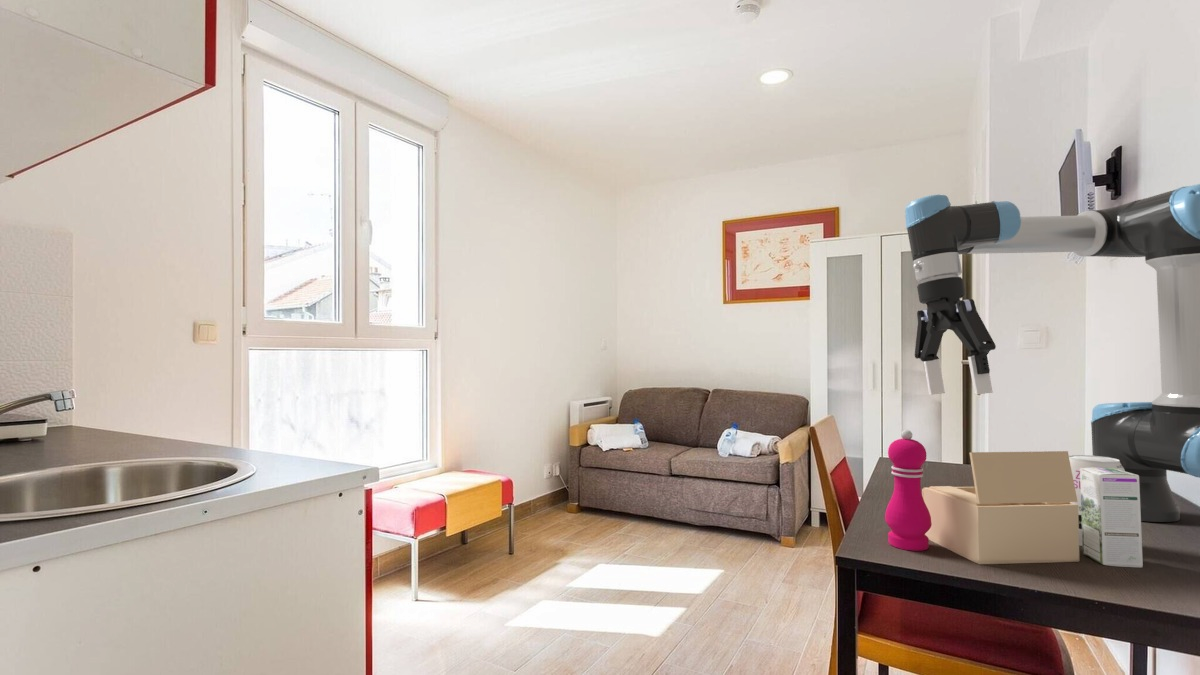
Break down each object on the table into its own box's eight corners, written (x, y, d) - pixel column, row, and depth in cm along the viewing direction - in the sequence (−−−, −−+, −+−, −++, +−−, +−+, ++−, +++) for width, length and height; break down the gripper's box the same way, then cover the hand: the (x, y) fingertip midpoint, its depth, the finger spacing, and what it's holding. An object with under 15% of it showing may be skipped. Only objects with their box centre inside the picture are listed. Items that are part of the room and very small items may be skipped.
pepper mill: (878, 538, 108) (876, 427, 109) (918, 539, 108) (917, 427, 108) (896, 551, 101) (895, 432, 101) (940, 552, 101) (938, 432, 101)
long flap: (1075, 501, 97) (1065, 451, 99) (1077, 501, 96) (1067, 451, 98) (977, 503, 96) (969, 452, 97) (979, 503, 95) (971, 452, 97)
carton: (1009, 534, 111) (1008, 482, 111) (1079, 561, 96) (1078, 502, 96) (921, 536, 110) (920, 484, 110) (978, 564, 95) (977, 504, 95)
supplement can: (1112, 540, 108) (1110, 455, 108) (1136, 554, 100) (1134, 463, 100) (1058, 535, 110) (1056, 453, 111) (1077, 549, 102) (1075, 460, 103)
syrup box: (1144, 568, 93) (1142, 474, 94) (1101, 565, 94) (1099, 472, 95) (1121, 556, 99) (1118, 467, 99) (1080, 553, 100) (1078, 466, 100)
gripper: (885, 293, 124) (902, 396, 122) (961, 267, 99) (984, 396, 97) (921, 289, 124) (938, 391, 122) (1005, 262, 99) (1029, 390, 97)
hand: (958, 394), depth 109 cm, fingers open, 13 cm apart
